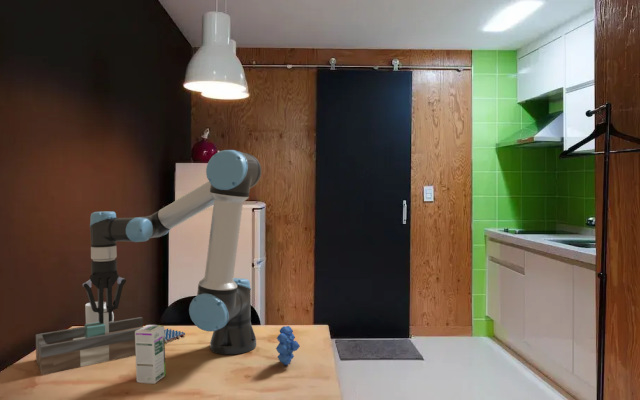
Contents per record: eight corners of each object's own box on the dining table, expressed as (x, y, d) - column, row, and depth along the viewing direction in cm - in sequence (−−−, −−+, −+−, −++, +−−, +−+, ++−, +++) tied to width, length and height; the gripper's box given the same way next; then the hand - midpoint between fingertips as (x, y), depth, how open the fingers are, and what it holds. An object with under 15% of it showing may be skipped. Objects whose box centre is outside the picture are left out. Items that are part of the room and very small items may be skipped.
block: (105, 340, 147) (105, 325, 146) (87, 343, 144) (87, 327, 143) (101, 336, 151) (101, 321, 150) (85, 339, 148) (84, 324, 147)
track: (155, 350, 151) (154, 326, 151) (41, 375, 132) (41, 347, 132) (141, 339, 163) (141, 316, 163) (36, 359, 144) (35, 334, 144)
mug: (81, 339, 164) (81, 305, 163) (92, 333, 170) (92, 301, 170) (108, 340, 163) (108, 306, 163) (118, 334, 170) (118, 301, 169)
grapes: (294, 373, 131) (293, 331, 131) (271, 371, 133) (271, 330, 133) (305, 359, 143) (304, 320, 142) (284, 357, 144) (284, 319, 144)
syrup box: (155, 384, 125) (154, 331, 125) (135, 382, 126) (134, 330, 126) (166, 376, 130) (165, 325, 130) (147, 374, 132) (146, 324, 131)
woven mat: (142, 341, 163) (142, 335, 163) (167, 333, 172) (166, 327, 172) (163, 346, 157) (162, 340, 157) (186, 337, 166) (186, 332, 166)
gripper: (122, 256, 155) (123, 325, 156) (79, 260, 148) (81, 333, 148) (128, 258, 149) (129, 331, 150) (83, 262, 142) (85, 339, 142)
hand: (105, 332), depth 149 cm, fingers closed
